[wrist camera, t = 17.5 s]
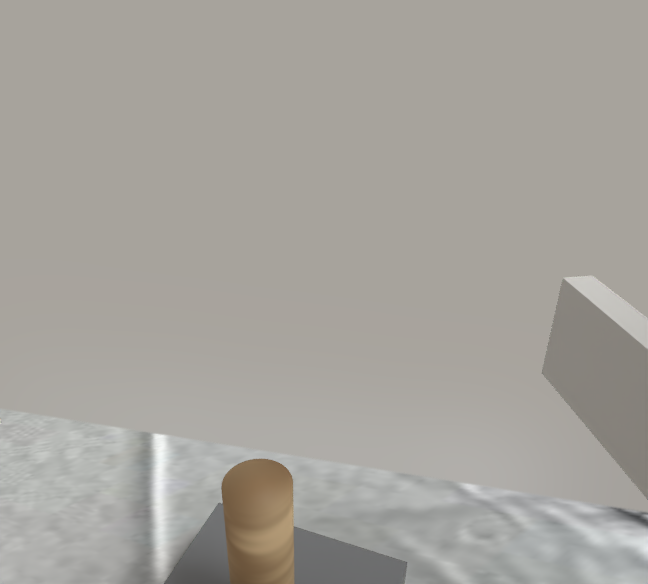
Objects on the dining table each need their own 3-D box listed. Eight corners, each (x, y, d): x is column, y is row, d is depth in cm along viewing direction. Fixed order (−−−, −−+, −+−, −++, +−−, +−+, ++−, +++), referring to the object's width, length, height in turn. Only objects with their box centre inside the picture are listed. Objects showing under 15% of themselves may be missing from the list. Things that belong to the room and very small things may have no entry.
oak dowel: (304, 645, 38) (303, 469, 31) (281, 701, 35) (274, 520, 28) (253, 626, 39) (242, 451, 32) (227, 679, 36) (208, 499, 29)
